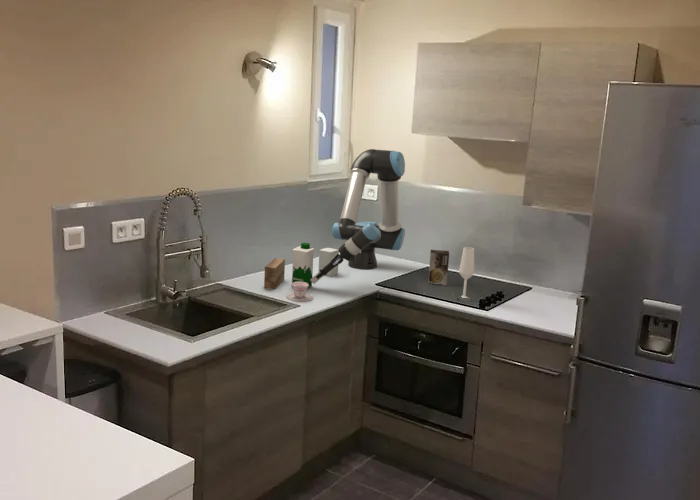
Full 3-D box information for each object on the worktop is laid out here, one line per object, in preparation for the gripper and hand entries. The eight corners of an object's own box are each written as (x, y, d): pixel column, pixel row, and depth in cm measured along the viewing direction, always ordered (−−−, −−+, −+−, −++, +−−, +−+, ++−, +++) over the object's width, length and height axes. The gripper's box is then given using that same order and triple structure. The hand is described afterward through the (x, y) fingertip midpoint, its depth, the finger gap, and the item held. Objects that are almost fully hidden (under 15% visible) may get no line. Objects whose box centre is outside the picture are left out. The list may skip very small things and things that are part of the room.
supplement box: (338, 274, 349) (339, 249, 346) (329, 277, 343) (331, 252, 340) (326, 271, 353) (327, 247, 350) (317, 274, 347) (318, 249, 344)
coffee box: (446, 282, 346) (449, 250, 342) (446, 285, 340) (449, 253, 336) (427, 280, 347) (430, 249, 343) (427, 284, 340) (430, 252, 337)
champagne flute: (453, 297, 321) (458, 246, 316) (466, 297, 323) (472, 246, 318) (460, 302, 315) (465, 250, 309) (473, 301, 317) (479, 249, 311)
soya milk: (314, 285, 327) (316, 244, 322) (305, 290, 319) (307, 247, 314) (297, 282, 330) (299, 241, 326) (288, 287, 322) (290, 245, 317)
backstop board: (284, 279, 334) (285, 259, 332) (274, 289, 318) (275, 267, 316) (274, 278, 335) (274, 258, 333) (264, 288, 319) (264, 266, 316)
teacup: (286, 293, 313) (286, 280, 312) (312, 294, 315) (313, 280, 313) (286, 301, 302) (287, 287, 300) (314, 302, 303) (315, 288, 302)
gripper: (353, 259, 310) (314, 291, 317) (357, 252, 323) (320, 284, 329) (341, 246, 310) (303, 279, 316) (346, 240, 323) (309, 272, 329)
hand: (312, 281), depth 323 cm, fingers closed
